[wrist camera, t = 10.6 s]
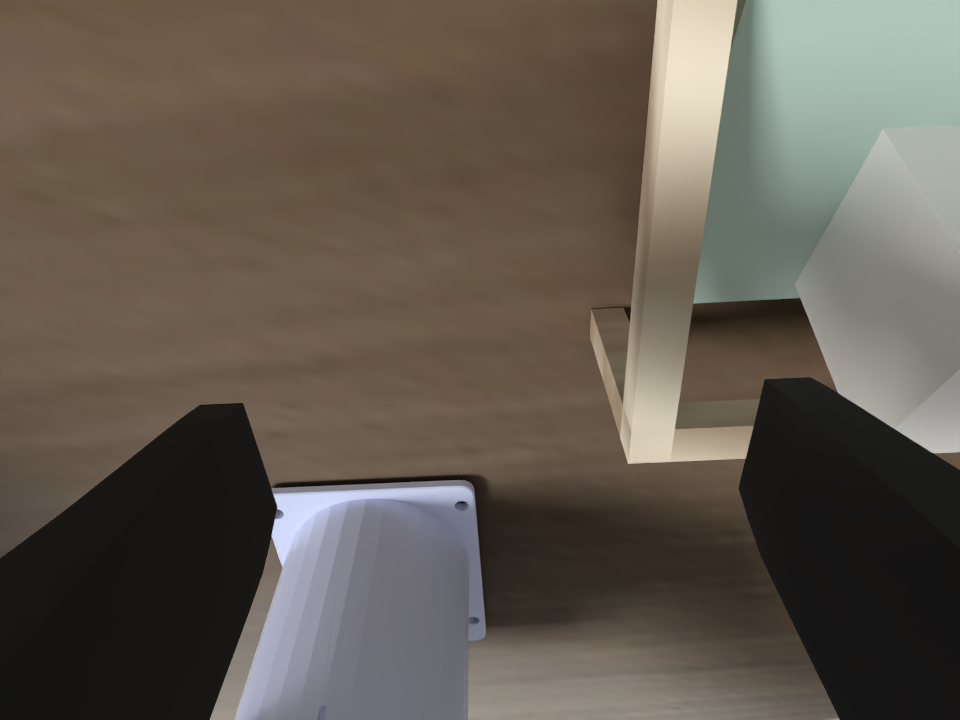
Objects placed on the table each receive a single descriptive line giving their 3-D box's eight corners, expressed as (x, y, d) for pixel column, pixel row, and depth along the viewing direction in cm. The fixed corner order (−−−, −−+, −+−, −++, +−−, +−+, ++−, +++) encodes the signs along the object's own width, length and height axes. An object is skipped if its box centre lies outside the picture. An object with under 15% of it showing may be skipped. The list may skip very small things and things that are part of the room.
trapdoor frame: (611, -124, 14) (690, -173, 9) (1308, -172, 13) (1817, -253, 8) (590, 336, 20) (628, 463, 15) (1060, 313, 20) (1262, 435, 15)
